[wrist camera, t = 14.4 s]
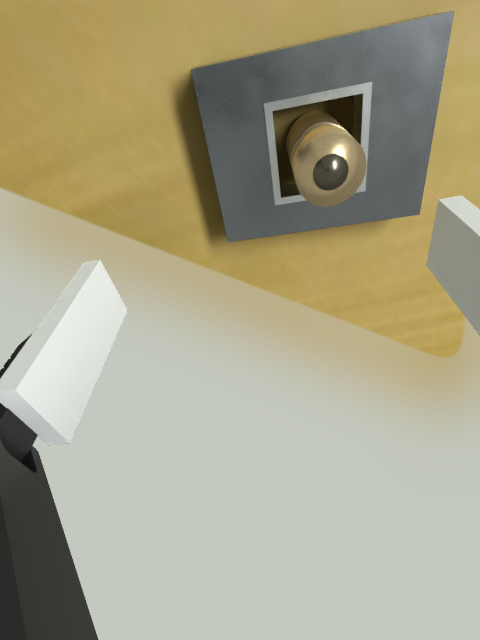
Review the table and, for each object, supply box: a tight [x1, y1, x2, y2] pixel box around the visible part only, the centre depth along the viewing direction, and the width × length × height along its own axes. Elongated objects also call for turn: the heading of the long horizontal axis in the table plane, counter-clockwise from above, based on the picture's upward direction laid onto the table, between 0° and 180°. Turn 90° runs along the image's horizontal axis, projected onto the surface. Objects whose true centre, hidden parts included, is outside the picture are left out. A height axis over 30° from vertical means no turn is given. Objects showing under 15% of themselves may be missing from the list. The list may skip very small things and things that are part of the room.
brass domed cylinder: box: [286, 111, 366, 207], centre depth 26 cm, size 5×5×9 cm
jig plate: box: [191, 11, 454, 242], centre depth 29 cm, size 14×18×3 cm
